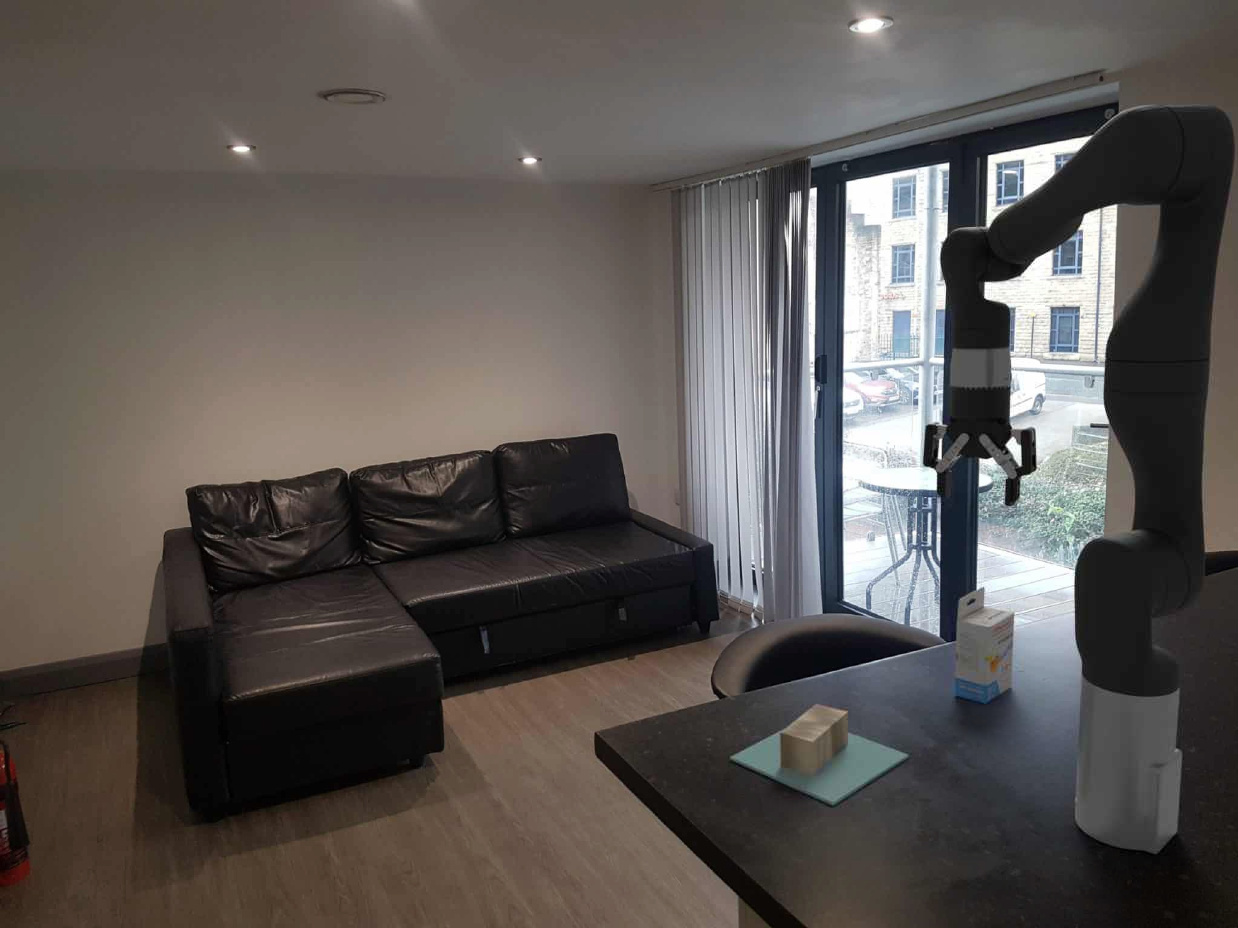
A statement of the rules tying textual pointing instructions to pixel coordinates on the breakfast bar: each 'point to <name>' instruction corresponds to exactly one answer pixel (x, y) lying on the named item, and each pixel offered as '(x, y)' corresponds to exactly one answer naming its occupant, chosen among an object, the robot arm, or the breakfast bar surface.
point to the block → (814, 739)
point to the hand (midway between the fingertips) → (977, 501)
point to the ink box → (983, 649)
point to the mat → (824, 767)
